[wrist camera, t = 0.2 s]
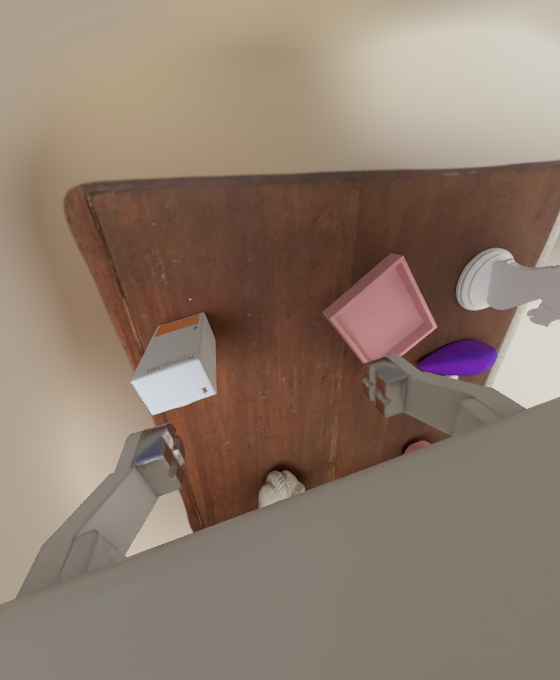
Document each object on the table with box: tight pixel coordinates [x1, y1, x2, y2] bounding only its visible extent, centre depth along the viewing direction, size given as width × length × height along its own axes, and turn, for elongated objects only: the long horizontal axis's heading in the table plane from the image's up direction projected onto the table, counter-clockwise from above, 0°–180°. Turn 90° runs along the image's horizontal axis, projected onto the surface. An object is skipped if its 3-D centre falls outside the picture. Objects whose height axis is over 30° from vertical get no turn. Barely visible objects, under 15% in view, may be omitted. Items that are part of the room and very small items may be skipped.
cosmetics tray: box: [322, 253, 437, 363], centre depth 37 cm, size 14×12×3 cm
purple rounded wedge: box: [417, 340, 497, 375], centre depth 44 cm, size 5×5×15 cm
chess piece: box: [456, 248, 560, 327], centre depth 34 cm, size 10×10×15 cm
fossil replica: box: [258, 470, 305, 509], centre depth 46 cm, size 12×8×10 cm
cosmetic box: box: [131, 312, 217, 415], centre depth 27 cm, size 6×4×12 cm
